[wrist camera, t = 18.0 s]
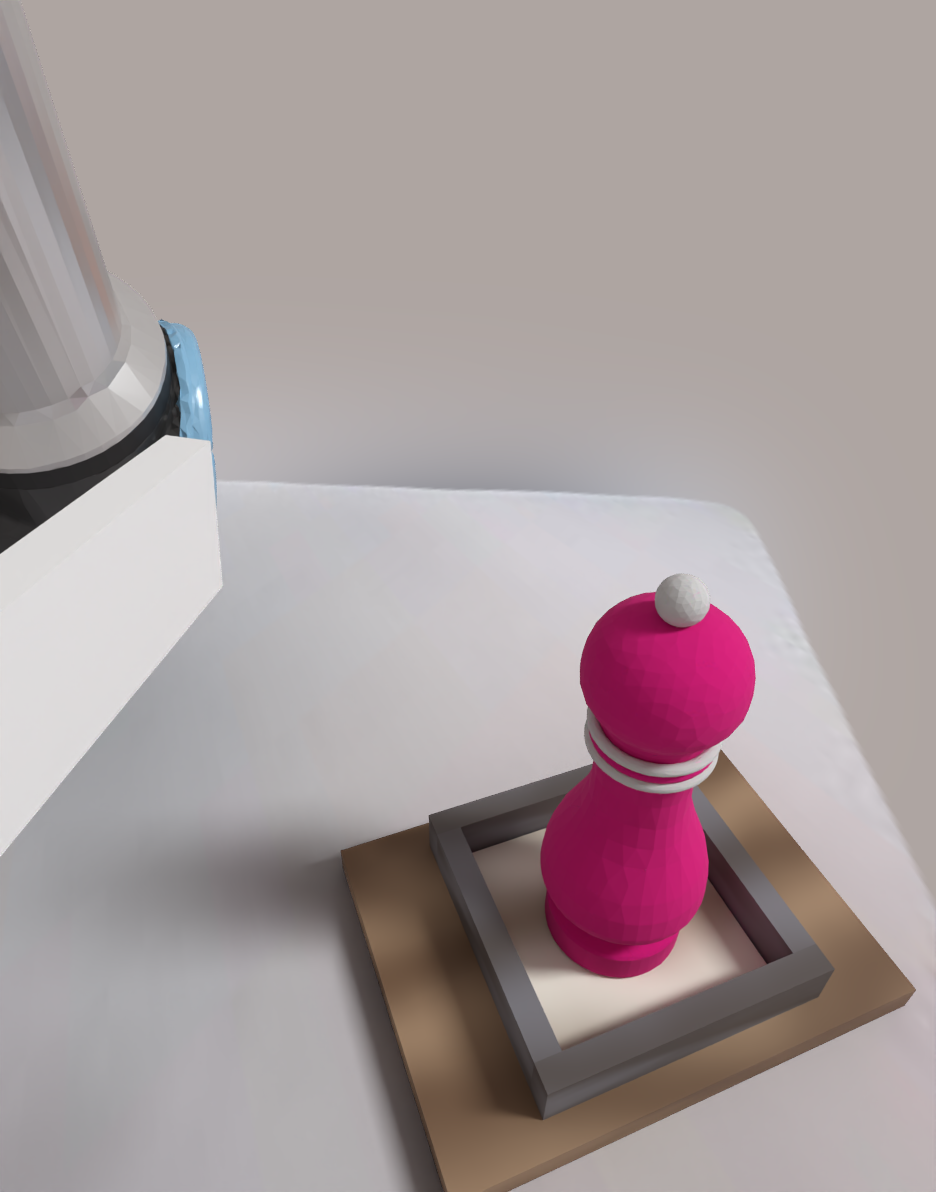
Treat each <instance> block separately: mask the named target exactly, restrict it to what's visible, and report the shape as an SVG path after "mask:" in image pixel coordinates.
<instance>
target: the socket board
mask: <svg viewBox="0 0 936 1192" xmlns="http://www.w3.org/2000/svg"><path fill="white" fill-rule="evenodd" d="M592 765H593V764H591V765H587V766H584V767H581V768H578V769H575V770H572V771H568V772H565V773H562V774H559V775H556V776H552V777H549V778H546V779H543V780H540V781H536V782H533V783H530V784H527V785H524V786H521V787H517V788H514V789H511V790H508V791H505V792H501V793H498V794H495V795H492V796H489V797H485V798H482V799H479V800H476V801H473V802H469V803H466V804H463V805H460V806H457V807H454V808H450V809H447V810H444V811H441V812H438V813H434V814H431V815H429V823H427V824H423V825H420V826H417V827H414V828H411V829H408V830H404V831H401V832H398V833H395V834H392V835H389V836H386V837H382V838H379V839H376V840H373V841H370V842H367V843H363V844H360V845H357V846H354V847H351V848H348V849H344V850H341V856H342V864H343V869H344V872H345V876H346V879H347V882H348V885H349V888H350V892H351V895H352V898H353V901H354V904H355V908H356V911H357V914H358V917H359V921H360V924H361V927H362V930H363V933H364V937H365V940H366V943H367V946H368V950H369V953H370V956H371V959H372V962H373V966H374V969H375V972H376V975H377V978H378V982H379V985H380V988H381V991H382V995H383V998H384V1001H385V1004H386V1007H387V1011H388V1014H389V1017H390V1020H391V1024H392V1027H393V1030H394V1033H395V1036H396V1040H397V1043H398V1046H399V1049H400V1053H401V1056H402V1059H403V1062H404V1065H405V1069H406V1072H407V1075H408V1078H409V1081H410V1085H411V1088H412V1091H413V1094H414V1098H415V1101H416V1104H417V1107H418V1110H419V1114H420V1117H421V1120H422V1123H423V1127H424V1130H425V1133H426V1136H427V1139H428V1143H429V1146H430V1149H431V1152H432V1155H433V1159H434V1162H435V1165H436V1168H437V1172H438V1175H439V1178H440V1181H441V1184H442V1188H443V1191H444V1192H508V1191H510V1190H512V1189H514V1188H516V1187H519V1186H521V1185H523V1184H525V1183H527V1182H529V1181H531V1180H533V1179H536V1178H538V1177H540V1176H542V1175H544V1174H546V1173H548V1172H551V1171H553V1170H555V1169H557V1168H559V1167H561V1166H563V1165H565V1164H568V1163H570V1162H572V1161H574V1160H576V1159H578V1158H580V1157H582V1156H585V1155H587V1154H589V1153H591V1152H593V1151H595V1150H597V1149H600V1148H602V1147H604V1146H606V1145H608V1144H610V1143H612V1142H614V1141H617V1140H619V1139H621V1138H623V1137H625V1136H627V1135H629V1134H632V1133H634V1132H636V1131H638V1130H640V1129H642V1128H644V1127H646V1126H649V1125H651V1124H653V1123H655V1122H657V1121H659V1120H661V1119H664V1118H666V1117H668V1116H670V1115H672V1114H674V1113H676V1112H678V1111H681V1110H683V1109H685V1108H687V1107H689V1106H691V1105H693V1104H696V1103H698V1102H700V1101H702V1100H704V1099H706V1098H708V1097H710V1096H713V1095H715V1094H717V1093H719V1092H721V1091H723V1090H725V1089H728V1088H730V1087H732V1086H734V1085H736V1084H738V1083H740V1082H742V1081H745V1080H747V1079H749V1078H751V1077H753V1076H755V1075H757V1074H760V1073H762V1072H764V1071H766V1070H768V1069H770V1068H772V1067H774V1066H777V1065H779V1064H781V1063H783V1062H785V1061H787V1060H789V1059H792V1058H794V1057H796V1056H798V1055H800V1054H802V1053H804V1052H806V1051H809V1050H811V1049H813V1048H815V1047H817V1046H819V1045H821V1044H824V1043H826V1042H828V1041H830V1040H832V1039H834V1038H836V1037H838V1036H841V1035H843V1034H845V1033H847V1032H849V1031H851V1030H853V1029H856V1028H858V1027H860V1026H862V1025H864V1024H866V1023H868V1022H870V1021H873V1020H875V1019H877V1018H879V1017H881V1016H883V1015H885V1014H888V1013H890V1012H892V1011H894V1010H896V1009H898V1008H900V1007H902V1006H904V1005H905V1004H906V1003H907V1001H908V1000H909V999H910V997H911V996H912V995H913V993H914V992H915V991H916V989H915V988H914V987H913V985H912V984H911V983H910V982H909V980H908V979H907V978H906V977H905V975H904V974H903V973H902V972H901V971H900V969H899V968H898V967H897V966H896V964H895V963H894V962H893V961H892V959H891V958H890V957H889V956H888V955H887V953H886V952H885V951H884V950H883V948H882V947H881V946H880V945H879V943H878V942H877V941H876V940H875V939H874V937H873V936H872V935H871V934H870V932H869V931H868V930H867V929H866V927H865V926H864V925H863V924H862V923H861V921H860V920H859V919H858V918H857V916H856V915H855V914H854V913H853V911H852V910H851V909H850V908H849V907H848V905H847V904H846V903H845V902H844V900H843V899H842V898H841V897H840V895H839V894H838V893H837V892H836V890H835V889H834V888H833V887H832V886H831V884H830V883H829V882H828V881H827V879H826V878H825V877H824V876H823V874H822V873H821V872H820V871H819V870H818V868H817V867H816V866H815V865H814V863H813V862H812V861H811V860H810V858H809V857H808V856H807V855H806V854H805V852H804V851H803V850H802V849H801V847H800V846H799V845H798V844H797V842H796V841H795V840H794V839H793V838H792V836H791V835H790V834H789V833H788V831H787V830H786V829H785V828H784V826H783V825H782V824H781V823H780V822H779V820H778V819H777V818H776V817H775V815H774V814H773V813H772V812H771V810H770V809H769V808H768V807H767V806H766V804H765V803H764V802H763V801H762V799H761V798H760V797H759V796H758V794H757V793H756V792H755V791H754V790H753V788H752V787H751V786H750V785H749V783H748V782H747V781H746V780H745V778H744V777H743V776H742V775H741V773H740V772H739V771H738V770H737V769H736V767H735V766H734V765H733V764H732V762H731V761H730V760H729V759H728V757H727V756H726V755H725V754H724V753H723V751H722V750H721V749H720V752H719V755H718V760H717V763H716V766H715V768H714V770H713V771H712V773H711V774H710V775H709V776H708V777H707V778H706V779H705V780H704V781H703V782H701V783H700V784H698V785H696V786H695V787H693V792H692V800H693V804H694V807H695V811H696V813H697V816H698V818H699V821H700V823H701V826H702V828H703V832H704V835H705V840H706V847H707V854H708V860H709V863H708V878H707V884H706V889H705V894H704V897H703V900H702V903H701V905H700V907H699V909H698V911H697V912H696V914H695V915H694V917H693V918H692V919H691V921H690V922H689V923H688V924H687V925H686V926H685V927H684V928H682V929H681V930H680V931H679V934H678V937H677V940H676V943H675V945H674V948H673V949H672V951H671V952H670V954H669V955H668V957H667V958H666V959H665V960H664V961H663V962H662V963H661V964H660V965H659V966H657V967H655V968H654V969H652V970H651V971H649V972H647V973H644V974H642V975H638V976H633V977H626V978H617V977H608V976H604V975H600V974H596V973H594V972H592V971H590V970H588V969H585V968H583V967H582V966H580V965H579V964H577V963H576V962H574V961H573V960H571V959H570V958H569V957H568V956H567V955H566V954H565V953H564V952H563V951H562V950H561V949H560V947H559V946H558V945H557V943H556V942H555V940H554V938H553V937H552V935H551V932H550V930H549V928H548V925H547V921H546V916H545V898H546V891H547V889H546V886H545V884H544V880H543V876H542V872H541V864H540V852H541V847H542V841H543V838H544V834H545V831H546V827H547V824H548V822H549V820H550V818H551V816H552V814H553V812H554V811H555V809H556V808H557V807H558V805H559V804H560V802H561V801H562V800H563V798H564V797H565V795H566V794H567V793H568V792H569V791H570V790H572V789H573V788H574V787H575V786H576V785H577V784H578V783H579V782H580V781H581V780H583V779H584V778H585V777H586V776H587V775H588V774H589V773H590V771H591V769H592Z"/></svg>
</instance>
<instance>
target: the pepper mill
mask: <svg viewBox="0 0 936 1192" xmlns="http://www.w3.org/2000/svg"><path fill="white" fill-rule="evenodd" d="M755 679H756V678H755V664H754V658H753V655H752V652H751V649H750V647H749V644H748V641H747V639H746V637H745V636H744V634H743V633H742V631H741V629H740V628H739V627H738V626H737V625H736V624H735V623H734V621H733V620H732V619H731V618H730V617H729V616H728V615H726V614H725V613H723V612H722V611H721V610H719V609H718V608H716V607H715V606H713V605H712V604H710V594H709V591H708V588H707V587H706V585H705V584H704V583H703V582H702V581H701V580H700V579H699V578H697V577H695V576H693V575H690V574H676V575H673V576H670V577H668V578H666V579H665V580H664V581H663V582H662V583H661V584H660V585H659V587H658V589H657V591H656V592H652V593H643V594H640V595H636V596H633V597H630V598H628V599H626V600H624V601H622V602H620V603H618V604H617V605H615V606H614V607H612V608H611V609H609V610H608V611H607V612H606V613H605V614H604V615H603V616H602V617H601V618H600V619H599V621H598V622H597V623H596V624H595V626H594V627H593V629H592V631H591V633H590V634H589V636H588V638H587V641H586V643H585V646H584V649H583V653H582V657H581V663H580V685H581V688H582V691H583V694H584V698H585V701H586V704H587V705H588V709H587V720H586V724H585V728H584V737H585V743H586V746H587V749H588V752H589V753H590V755H591V757H592V759H593V760H594V761H593V765H592V769H591V771H590V773H589V774H588V775H587V776H586V777H585V778H584V779H583V780H581V781H580V782H579V783H578V784H577V785H576V786H575V787H574V788H573V789H572V790H570V791H569V792H568V793H567V794H566V795H565V797H564V798H563V800H562V801H561V802H560V804H559V805H558V807H557V808H556V809H555V811H554V812H553V814H552V816H551V818H550V820H549V822H548V824H547V827H546V831H545V834H544V838H543V841H542V847H541V852H540V864H541V872H542V876H543V880H544V884H545V886H546V889H547V891H546V898H545V916H546V921H547V925H548V928H549V930H550V932H551V935H552V937H553V938H554V940H555V942H556V943H557V945H558V946H559V947H560V949H561V950H562V951H563V952H564V953H565V954H566V955H567V956H568V957H569V958H570V959H571V960H573V961H574V962H576V963H577V964H579V965H580V966H582V967H583V968H585V969H588V970H590V971H592V972H594V973H596V974H600V975H604V976H608V977H617V978H626V977H633V976H638V975H642V974H644V973H647V972H649V971H651V970H652V969H654V968H655V967H657V966H659V965H660V964H661V963H662V962H663V961H664V960H665V959H666V958H667V957H668V955H669V954H670V952H671V951H672V949H673V948H674V945H675V943H676V940H677V937H678V934H679V931H680V930H681V929H682V928H684V927H685V926H686V925H687V924H688V923H689V922H690V921H691V919H692V918H693V917H694V915H695V914H696V912H697V911H698V909H699V907H700V905H701V903H702V900H703V897H704V894H705V889H706V884H707V878H708V863H709V860H708V854H707V847H706V840H705V835H704V832H703V828H702V826H701V823H700V821H699V818H698V816H697V813H696V811H695V807H694V804H693V800H692V792H693V787H695V786H696V785H698V784H700V783H701V782H703V781H704V780H705V779H706V778H707V777H708V776H709V775H710V774H711V773H712V771H713V770H714V768H715V766H716V763H717V760H718V755H719V752H720V749H721V747H722V744H723V740H725V739H726V738H728V737H729V736H730V735H731V734H732V733H733V732H734V730H735V729H736V728H737V727H738V726H739V725H740V724H741V723H742V722H743V720H744V718H745V716H746V714H747V712H748V710H749V707H750V704H751V701H752V698H753V694H754V686H755Z"/></svg>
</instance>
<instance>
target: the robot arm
mask: <svg viewBox="0 0 936 1192" xmlns="http://www.w3.org/2000/svg"><path fill="white" fill-rule="evenodd" d="M212 449H213V442H212V424H211V415H210V408H209V400H208V393H207V387H206V380H205V375H204V369H203V364H202V359H201V355H200V350H199V347H198V343H197V340H196V338H195V336H194V334H193V332H192V331H191V330H190V329H189V328H187V327H185V326H184V325H181V324H172V323H168V322H167V321H164V320H160V321H157V318H156V317H155V315H154V313H153V311H152V309H151V307H150V306H149V304H147V302H146V301H145V300H144V298H143V297H142V296H141V295H140V294H139V293H138V292H137V291H136V290H135V289H133V288H132V287H131V286H130V285H129V284H127V283H126V282H125V281H123V280H122V279H120V278H119V277H118V276H116V275H114V274H112V273H110V272H109V271H107V269H106V266H105V263H104V260H103V257H102V254H101V250H100V247H99V244H98V241H97V238H96V235H95V232H94V229H93V225H92V222H91V219H90V216H89V213H88V210H87V207H86V204H85V200H84V197H83V194H82V191H81V188H80V185H79V182H78V179H77V175H76V172H75V169H74V166H73V163H72V160H71V157H70V153H69V150H68V147H67V144H66V141H65V138H64V135H63V132H62V129H61V125H60V122H59V119H58V116H57V113H56V110H55V107H54V103H53V100H52V97H51V94H50V91H49V88H48V85H47V81H46V78H45V75H44V72H43V69H42V66H41V63H40V60H39V56H38V53H37V50H36V48H35V44H34V41H33V38H32V35H31V32H30V28H29V25H28V22H27V19H26V16H25V13H24V10H23V7H22V3H21V0H0V856H1V855H2V854H3V853H4V852H5V850H6V849H7V848H8V847H9V846H10V844H11V843H12V842H13V841H14V839H15V838H16V837H17V836H18V835H19V833H20V832H21V831H22V830H23V828H24V827H25V826H26V825H27V824H28V822H29V821H30V820H31V819H32V818H33V816H34V815H35V814H36V813H37V811H38V810H39V809H40V808H41V807H42V805H43V804H44V803H45V802H46V801H47V799H48V798H49V797H50V796H51V794H52V793H53V792H54V791H55V790H56V788H57V787H58V786H59V785H60V784H61V782H62V781H63V780H64V779H65V777H66V776H67V775H68V774H69V773H70V771H71V770H72V769H73V768H74V767H75V765H76V764H77V763H78V762H79V760H80V759H81V758H82V757H83V756H84V754H85V753H86V752H87V751H88V749H89V748H90V747H91V746H92V745H93V743H94V742H95V741H96V740H97V739H98V737H99V736H100V735H101V734H102V732H103V731H104V730H105V729H106V728H107V726H108V725H109V724H110V723H111V722H112V720H113V719H114V718H115V717H116V715H117V714H118V713H119V712H120V711H121V709H122V708H123V707H124V706H125V705H126V703H127V702H128V701H129V700H130V698H131V697H132V696H133V695H134V694H135V692H136V691H137V690H138V689H139V687H140V686H141V685H142V684H143V683H144V681H145V680H146V679H147V678H148V677H149V675H150V674H151V673H152V672H153V670H154V669H155V668H156V667H157V666H158V664H159V663H160V662H161V661H162V660H163V658H164V657H165V656H166V655H167V653H168V652H169V651H170V650H171V649H172V647H173V646H174V645H175V644H176V643H177V641H178V640H179V639H180V638H181V636H182V635H183V634H184V633H185V632H186V630H187V629H188V628H189V627H190V626H191V624H192V623H193V622H194V621H195V619H196V618H197V617H198V616H199V615H200V613H201V612H202V611H203V610H204V608H205V607H206V606H207V605H208V604H209V602H210V601H211V600H212V599H213V598H214V596H215V595H216V594H217V593H218V591H219V590H220V589H221V588H222V587H223V583H222V571H221V560H220V548H219V536H218V524H217V512H216V506H217V487H216V472H215V461H214V455H213V453H212Z"/></svg>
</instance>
